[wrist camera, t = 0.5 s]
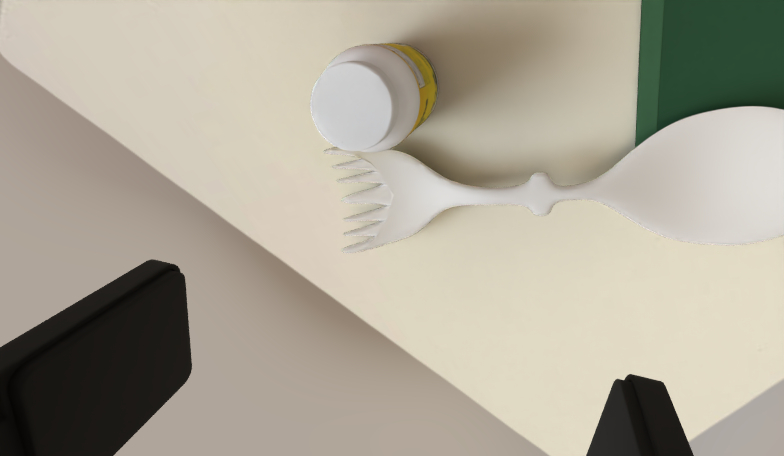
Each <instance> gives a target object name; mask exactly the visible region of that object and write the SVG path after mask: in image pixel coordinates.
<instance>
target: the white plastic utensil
mask: <svg viewBox="0 0 784 456" xmlns="http://www.w3.org/2000/svg"><path fill="white" fill-rule="evenodd" d="M323 152H324V153H327V154H337V155H351V156H356V157H359V158H361V159H359V160H355V161H350V162H346V163H341V164H337V165H334V166H332V167H331V168H335V169H364V170H372V171H373V172H368V173H364V174H359V175H355V176H350V177H346V178H342V179H339V180H336V182H339V183H380V184H382V185H380V186H377V187H374V188H370V189H367V190H363V191H360V192H357V193H353V194H350V195H348V196H346V197H344V198H342V200H341V201H343V202H345V203H351V204H383V205H386V206H384V207H381V208H378V209H375V210H371V211H367V212H364V213H360V214H356V215H352V216H350V217H347V218H344V219H343V220H344V221H375V220H378V221H380V222H377V223H374V224H371V225H368V226H365V227H362V228H358V229H355V230H351V231H348V232H346V233H344V234H343V235H345V236H374V237H372V238H370V239H368V240H365V241H362V242H359V243H356V244H353V245H350V246H347V247H345V248H343V249H342V250H341V251H342V252H343V253H356V252H362V251H366V250H369V249H373V248H377V247H380V246H383V245H386V244H389V243H392V242H395V241H399V240H402V239H405V238H407V237H410V236H412V235H414V234H416V233H417V232H419V231H420V230H421V229H423V228H424V227H425V226H426V225H427V224H428V223H429V222H430V221H431V220H432V219H433V218H435V217H436V216H437V215H438V214H439V213H441V212H442V211H444V210H446V209H448V208H451V207H455V206H463V205H520V206H524V207H527V208H529V209H530V210H531V211H532V212H533V213H534V214H535V215H538V216H543V215H547V214H549V213H550V212H551V210H552V207H553V206H554V204H556V203H558V202H560V201H565V200H590V201H596V202H600V203H602V204H604V205H606V206H608V207H610V208H612V209H613V210H615V211H617V212H618V213H620V214H621V215H623V216H625V217H626V218H628V219H629V220H631V221H633V222H634V223H636V224H638V225H640V226H641V227H643V228H645V229H647V230H649V231H651V232H653V233H655V234H658V235H660V236H663V237H666V238H669V239H673V240H677V241H682V242H688V243H697V244H707V245H744V244H751V243H757V242H762V241H766V240H770V239H774V238H777V237H780V236H783V235H784V110H782V109H777V108H771V107H759V106H746V107H733V108H726V109H719V110H714V111H709V112H705V113H701V114H697V115H693V116H690V117H687V118H684V119H682V120H679V121H677V122H675V123H673V124H671V125H669V126H667V127H665V128H663V129H662V130H660V131H658V132H657V133H655V134H654V135H652V136H651V137H649V138H648V139H647V140H645V141H644V142H642V143H641V144H640V145H639V146H637V147H636V148H635V149H634V150H632V151H631V152H630V153H629V154H627V155H626V156H625V157H624V158H623V159H622V160H620V161H619V162H618V163H617V164H616V165H615V166H613V167H612V168H611V169H610V170H608V171H607V172H606V173H604V174H603V175H601V176H599V177H597V178H595V179H593V180H591V181H588V182H585V183H581V184H577V185H570V186H560V185H556V184H555V183H554V182H553V181H552V179H551V178H550V176H549V175H548V174H547V173H545V172H538V173H535V174H533V175H532V176H531V178H530V179H529V180H528V181H527V182H526V183H523V184H521V185H516V186H509V187H478V186H470V185H465V184H461V183H458V182H454V181H452V180H449V179H447V178H445V177H443V176H441V175H439V174H438V173H436V172H435V171H433V170H432V169H431V168H429V167H428V166H426V165H425V164H424V163H422V162H421V161H419V160H418V159H416V158H414V157H413V156H411V155H409V154H406V153H403V152H400V151H396V150H390V149H387V150H384V151H380V152H361V151H347V150H343V149H340V148H338V147H333V148H329V149H326V150H324V151H323Z"/></svg>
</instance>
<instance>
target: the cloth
mask: <svg viewBox="0 0 784 456" xmlns="http://www.w3.org/2000/svg"><path fill="white" fill-rule="evenodd" d="M746 106H759V107H771V108H777V109H782V110H784V0H642V5H641V28H640V51H639V74H638V97H637V120H636V143H635V148H636V147H637V146H639V145H640V144H641V143H642V142H644V141H645V140H647V139H648V138H649V137H651V136H652V135H654V134H655V133H657V132H658V131H660V130H662V129H663V128H665V127H667V126H669V125H671V124H673V123H675V122H677V121H679V120H682V119H684V118H687V117H690V116H693V115H697V114H701V113H705V112H709V111H714V110H719V109H726V108H733V107H746Z"/></svg>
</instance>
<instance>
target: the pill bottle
mask: <svg viewBox="0 0 784 456" xmlns="http://www.w3.org/2000/svg"><path fill="white" fill-rule="evenodd" d="M438 90H439V86H438V79H437V75H436V72H435V69H434V67H433V65H432V64H431V62H430V61H429V59H428V58H427V57H426V56H425V55H424V54H423V53H422V52H420V51H419V50H417V49H416V48H414V47H412V46H409V45H405V44H398V43H388V44H370V45H360V46H355V47H352V48H349V49H347V50H345V51H343V52H342V53H340V54H339V55H337V56H336V57H335V58H334V59H333V60H332V61H331V62H330V63H329V65H328V66H327V68H326V69H325V71H324V72H323V73H322V74H321V75H320V77H319V78H318V79H317V81H316V83H315V85H314V87H313V90H312V94H311V102H310V106H311V114H312V118H313V121H314V123H315V126H316V127H317V129H318V131H319V132H320V134H321V135H322V136H323V137H324V138H325V139H326V140H327V141H328V142H329V143H331V144H332V145H334V146H336V147H338V148H340V149H343V150H347V151H361V152H380V151H384V150H387V149H390V148H392V147H394V146H396V145H398V144H399V143H400V142H402V141H403V140H404V139H405V138H406V137H407V136H408V135H409V134H411V133H412V132H413V131H414V130H415V129H416V128H417V127H418V126H420V125H421V124H422V123H423V122H424V121H425V120H426V119H427V118H428V117H429V115H430V114H431V113H432V111H433V109H434V107H435V105H436V102H437V98H438Z"/></svg>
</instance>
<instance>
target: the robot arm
mask: <svg viewBox="0 0 784 456" xmlns="http://www.w3.org/2000/svg"><path fill="white" fill-rule="evenodd" d="M191 369H192V363H191V349H190V336H189V324H188V310H187V297H186V284H185V277H184V275H183V274H182V273H180V269H179V268H178V266H176V265H174V264H170V263H166V262H162V261H158V260H149V261H146V262H144V263H143V264H141V265H139V266H138V267H136V268H134V269H133V270H131V271H129V272H128V273H126V274H124V275H122V276H121V277H119V278H117V279H116V280H114V281H112V282H111V283H109V284H107V285H105V286H104V287H102V288H100V289H99V290H97V291H95V292H93V293H92V294H90V295H88V296H87V297H85V298H83V299H82V300H80V301H78V302H76V303H75V304H73V305H72V306H70V307H68V308H66V309H65V310H63V311H61V312H60V313H58V314H56V315H54V316H53V317H51V318H49V319H48V320H46V321H44V322H42V323H41V324H39V325H38V326H36V327H34V328H32V329H31V330H29V331H27V332H25V333H24V334H22V335H20V336H19V337H17V338H15V339H14V340H12V341H10V342H9V343H7V344H5V345H3V346H2V347H0V456H113V455H114V454H115V453H116V452H117V451H118V450H119V449H120V448H121V447H122V446H123V445H124V444H125V443H126V442H127V441H128V440H129V439H130V438H131V437H132V436H133V435H134V434H135V433H136V432H137V431H138V430H139V429H140V428H141V427H142V426H143V425H144V424H145V423H146V422H147V421H148V420H149V419H150V418H151V417H152V416H153V415H154V414H155V413H156V412H157V411H158V410H159V409H160V408H161V407H162V406H163V405H164V404H165V403H166V402H167V401H168V400H169V399H170V398H171V397H172V396H173V395H174V394H175V393H176V392H177V391H178V390H179V389H180V387H182V386H183V384H185V382H186V381H187V379H188V378H189V376H190V373H191ZM586 456H694V455H693V453H692V450H691V448H690V445H689V443H688V441H687V438H686V436H685V433H684V431H683V428H682V426H681V423H680V421H679V418H678V416H677V413H676V411H675V409H674V406H673V404H672V401H671V399H670V396H669V394H668V391H667V389H666V387H665V385H664V383H663V382H661V381H657V380H653V379H649V378H644V377H640V376H636V375H632V374H629V375H628V376H627V377H626V378H625V380H620V379H616V380H615V381H614V383H613V386H612V388H611V391H610V394H609V396H608V399H607V402H606V404H605V407H604V410H603V412H602V415H601V418H600V420H599V423H598V426H597V428H596V431H595V434H594V436H593V439H592V442H591V445H590V447H589V450H588V453H587V455H586Z"/></svg>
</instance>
